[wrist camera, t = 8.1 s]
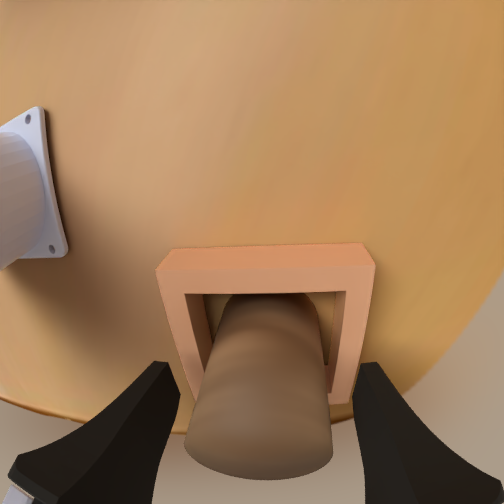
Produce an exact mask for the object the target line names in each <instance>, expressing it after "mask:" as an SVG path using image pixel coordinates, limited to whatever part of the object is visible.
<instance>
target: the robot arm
mask: <svg viewBox="0 0 504 504" xmlns="http://www.w3.org/2000/svg"><path fill="white" fill-rule="evenodd" d="M30 118H31V121H30ZM53 246H54V247H53ZM54 248H55V249H54ZM67 253H68V245H67V241H66V238H65V234H64V230H63V226H62V222H61V218H60V214H59V210H58V205H57V201H56V196H55V191H54V186H53V180H52V174H51V168H50V162H49V155H48V147H47V138H46V127H45V114H44V109H43V107H41V106H36V107H33V108H31V109H29V110H27V111H26V112H24V113H22V114H21V115H19V116H17V117H16V118H14V119H12V120H11V121H9V122H8V123H6V124H4V125H3V126H1V127H0V271H1V270H3V269H4V268H5V267H7V266H8V265H10V264H11V263H13V262H14V261H15V260H17V259H25V258H57V257H63V256H65V255H66V254H67ZM180 395H181V394H180V392H179V389H178V387H177V384H176V382H175V379H174V377H173V374H172V372H171V369H170V366H169V364H168V362H159V361H154V362H153V363H152V364H151V365H150V366H149V367H148V368H147V369H146V370H145V371H144V372H143V373H142V374H141V375H140V376H139V377H138V378H137V379H136V380H135V381H134V382H133V383H132V384H131V385H130V386H129V387H128V388H127V389H126V390H125V391H124V392H123V393H121V394H120V395H119V396H118V397H117V398H116V399H115V400H114V401H113V402H112V403H111V404H109V405H108V406H107V407H106V408H105V409H104V410H103V411H101V412H100V413H99V414H98V415H96V416H95V417H94V418H93V419H91V420H90V421H88V422H87V423H86V424H84V425H83V426H81V427H80V428H78V429H77V430H75V431H73V432H71V433H70V434H68V435H66V436H65V437H63V438H61V439H59V440H57V441H55V442H53V443H51V444H48V445H46V446H44V447H41V448H38V449H36V450H33V451H30V452H26V453H23V454H20V455H18V456H17V458H16V460H15V462H14V464H13V465H12V467H11V469H10V471H9V473H8V478H9V479H11V480H12V481H13V482H14V483H16V484H17V485H18V486H20V487H21V488H22V489H23V490H25V491H26V492H28V493H29V494H30V495H32V496H33V497H35V498H34V499H33V498H31V497H29V496H28V495H27V494H25V493H24V492H23V491H21V490H20V489H19V488H17V487H15V486H14V485H11V486H10V488H9V490H8V492H7V494H6V496H5V499H4V501H3V503H2V504H152V497H153V491H154V486H155V480H156V475H157V471H158V466H159V463H160V460H161V457H162V454H163V451H164V449H165V446H166V443H167V440H168V438H169V435H170V432H171V429H172V427H173V424H174V421H175V418H176V414H177V410H178V405H179V400H180ZM352 401H353V412H354V421H355V426H356V431H357V436H358V441H359V446H360V450H361V456H362V461H363V467H364V475H365V504H502V503H503V502H504V490H503V487H502V484H501V481H500V480H498V479H496V478H494V477H492V476H490V475H488V474H486V473H484V472H482V471H481V470H479V469H477V468H476V467H474V466H473V465H471V464H470V463H468V462H467V461H465V460H464V459H463V458H461V457H460V456H459V455H458V454H456V453H455V452H454V451H452V450H451V449H450V448H449V447H447V446H446V445H445V444H444V443H443V442H442V441H441V440H440V439H439V438H437V436H436V435H434V434H433V433H432V432H431V431H430V430H429V429H428V427H427V426H426V425H425V424H424V423H423V422H422V421H421V420H420V418H419V417H418V416H417V415H416V414H415V413H414V411H413V410H412V409H411V408H410V407H409V405H408V404H407V403H406V402H405V400H404V399H403V398H402V396H401V395H400V394H399V392H398V391H397V390H396V388H395V387H394V385H393V384H392V383H391V381H390V380H389V378H388V377H387V376H386V374H385V373H384V371H383V370H382V368H381V367H380V365H379V364H378V363H377V362H371V363H361V365H360V369H359V373H358V377H357V381H356V384H355V388H354V392H353V395H352Z"/></svg>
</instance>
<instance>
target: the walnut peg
mask: <svg viewBox="0 0 504 504" xmlns="http://www.w3.org/2000/svg"><path fill="white" fill-rule="evenodd" d="M184 447H185V449H186V451H187V452H188V454H189V455H190V456H191V457H192V458H193V459H195V460H196V461H197V462H198V463H200V464H202V465H203V466H205V467H207V468H209V469H212V470H214V471H217V472H220V473H223V474H226V475H230V476H234V477H239V478H245V479H253V480H281V479H289V478H295V477H300V476H303V475H307V474H309V473H312V472H314V471H317V470H319V469H320V468H322V467H324V466H325V465H326V464H327V463H328V462H329V461H330V460H331V458H332V456H333V446H332V433H331V422H330V412H329V402H328V393H327V384H326V376H325V368H324V360H323V352H322V345H321V338H320V331H319V324H318V318H317V312H316V309H315V307H314V305H313V303H312V302H311V300H310V299H309V298H308V297H307V296H306V295H305V294H304V293H303V292H298V293H246V294H234V295H233V296H232V297H231V298H230V299H229V300H228V302H227V303H226V306H225V308H224V311H223V314H222V317H221V321H220V324H219V327H218V331H217V334H216V337H215V340H214V344H213V347H212V350H211V354H210V357H209V360H208V363H207V367H206V370H205V373H204V377H203V380H202V383H201V387H200V390H199V393H198V397H197V400H196V403H195V407H194V410H193V414H192V417H191V420H190V424H189V427H188V431H187V434H186V437H185V441H184Z"/></svg>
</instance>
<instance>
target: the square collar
mask: <svg viewBox="0 0 504 504" xmlns="http://www.w3.org/2000/svg"><path fill="white" fill-rule="evenodd" d="M375 266H376V265H375V263H374V261H373V260H372V258H371V256H370V255H369V253H368V252H367V250H366V248H365V247H364V245H363V244H362V243H339V244H304V245H271V246H240V247H210V248H182V249H172V250H171V251H170V253H169V254H168V255H167V256H166V257H165V259H164V260H163V261H162V262H161V263H160V265H159V266H158V267H157V268H156V269H155V273H156V277H157V281H158V285H159V289H160V293H161V296H162V300H163V304H164V307H165V311H166V315H167V318H168V321H169V325H170V328H171V332H172V335H173V338H174V341H175V345H176V348H177V351H178V354H179V357H180V360H181V363H182V366H183V369H184V372H185V375H186V378H187V380H188V383H189V386H190V389H191V392H192V394H193V397H194V400H195V402H196V400H197V397H198V393H199V390H200V387H201V383H202V380H203V377H204V373H205V370H206V367H207V363H208V360H209V357H210V354H211V350H212V347H213V344H212V339H211V335H210V330H209V325H208V320H207V315H206V310H205V305H204V300H203V295H202V294H246V293H298V292H327V291H336V295H335V307H334V317H333V327H332V336H331V344H330V352H329V360H328V365H324V368H325V376H326V384H327V393H328V402H329V405H331V404H344V403H348V401H349V398H350V394H351V390H352V387H353V383H354V379H355V375H356V371H357V367H358V362H359V358H360V354H361V349H362V344H363V340H364V335H365V330H366V324H367V319H368V313H369V307H370V301H371V295H372V288H373V281H374V274H375Z"/></svg>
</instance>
